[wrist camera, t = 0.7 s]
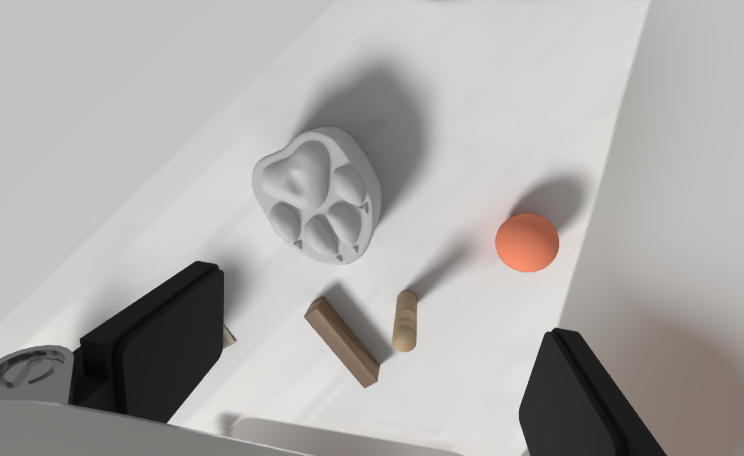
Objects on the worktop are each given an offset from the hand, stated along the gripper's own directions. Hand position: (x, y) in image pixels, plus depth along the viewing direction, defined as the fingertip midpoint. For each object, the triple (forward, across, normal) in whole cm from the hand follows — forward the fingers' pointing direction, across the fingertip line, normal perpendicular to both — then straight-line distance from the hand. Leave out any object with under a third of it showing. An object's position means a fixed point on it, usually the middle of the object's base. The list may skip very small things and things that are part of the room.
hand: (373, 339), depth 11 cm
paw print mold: (+31, +8, +4) cm, 33 cm away
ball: (+28, -13, +5) cm, 31 cm away
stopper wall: (+31, +4, +22) cm, 38 cm away
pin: (+31, -2, +15) cm, 35 cm away
